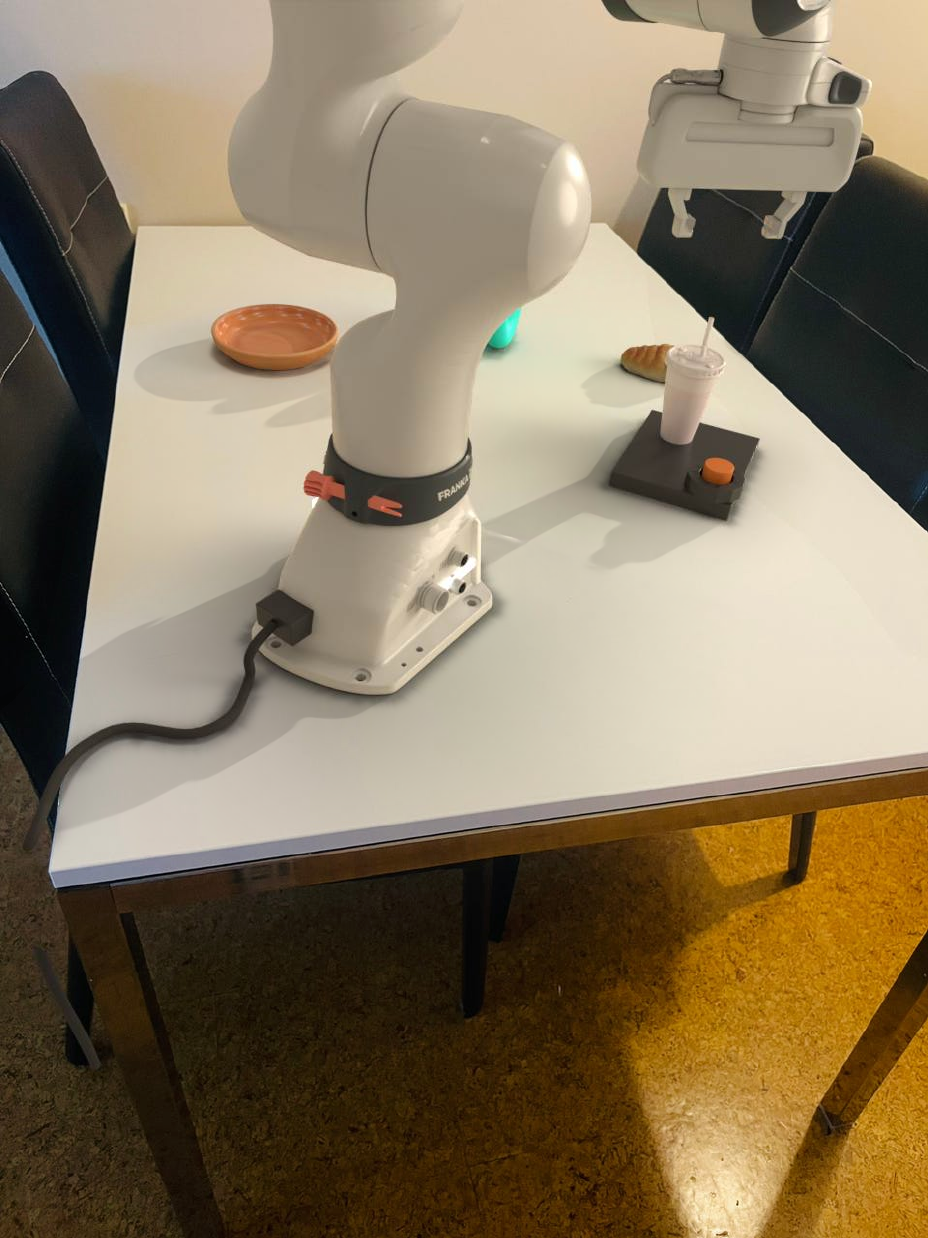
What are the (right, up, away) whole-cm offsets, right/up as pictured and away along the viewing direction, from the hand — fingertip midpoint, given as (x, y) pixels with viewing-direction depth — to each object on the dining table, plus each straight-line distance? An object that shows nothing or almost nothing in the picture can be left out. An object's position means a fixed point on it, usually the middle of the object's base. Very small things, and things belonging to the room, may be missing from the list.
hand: (726, 236), depth 87 cm
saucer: (-50, -2, +29) cm, 58 cm away
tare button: (+1, -23, +6) cm, 24 cm away
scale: (-1, -20, +13) cm, 24 cm away
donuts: (-24, +1, +35) cm, 43 cm away
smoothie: (-1, -17, +15) cm, 22 cm away
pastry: (0, -5, +31) cm, 32 cm away
